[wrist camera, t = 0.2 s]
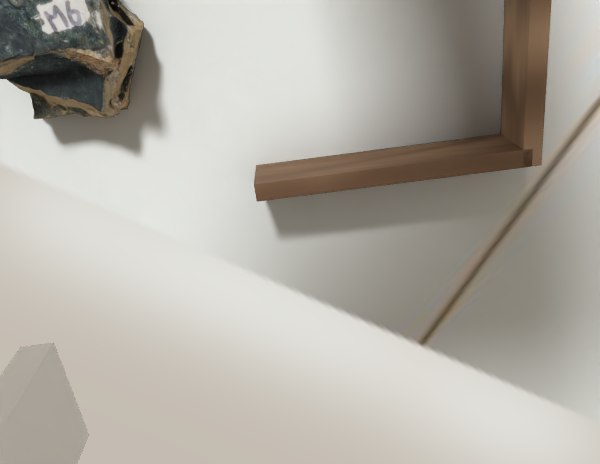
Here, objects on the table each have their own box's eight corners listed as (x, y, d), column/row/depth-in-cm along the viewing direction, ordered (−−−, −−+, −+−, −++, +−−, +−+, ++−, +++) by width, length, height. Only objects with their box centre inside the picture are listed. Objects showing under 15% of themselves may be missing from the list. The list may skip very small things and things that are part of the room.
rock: (42, 120, 38) (5, 143, 33) (-9, -30, 34) (-60, -31, 29) (167, 102, 38) (149, 122, 33) (130, -52, 34) (103, -56, 29)
